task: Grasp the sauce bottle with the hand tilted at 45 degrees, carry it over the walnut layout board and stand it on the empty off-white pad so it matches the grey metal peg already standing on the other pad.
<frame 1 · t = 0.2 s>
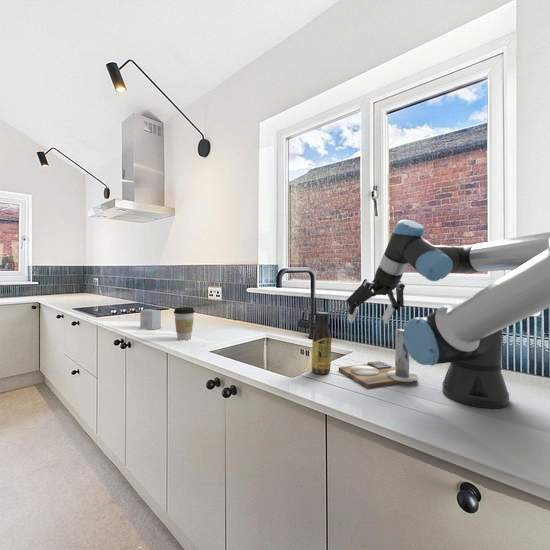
hand: (367, 320, 106), 17 cm above the worktop, tool tilted 35°, fingers open, 13 cm apart
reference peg: (402, 375, 95), resting on layout board
sauce bottle: (321, 372, 103), on the worktop
skincare box: (150, 328, 178), on the worktop
layout board: (376, 375, 99), on the worktop
coffee cup: (184, 339, 150), on the worktop
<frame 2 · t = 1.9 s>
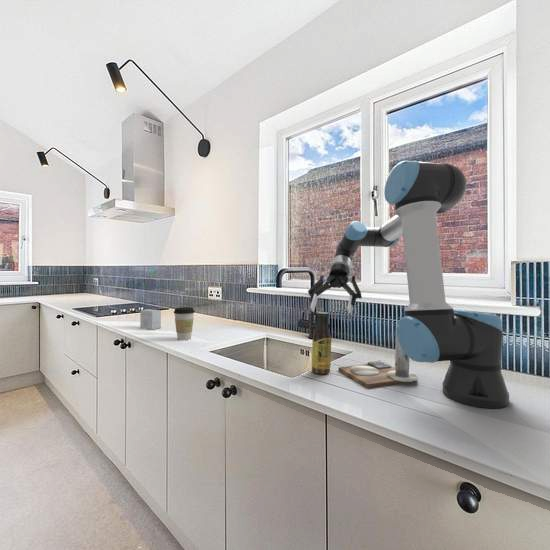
hand: (329, 310, 112), 19 cm above the worktop, tool tilted 45°, fingers open, 13 cm apart
nothing on the worktop moved.
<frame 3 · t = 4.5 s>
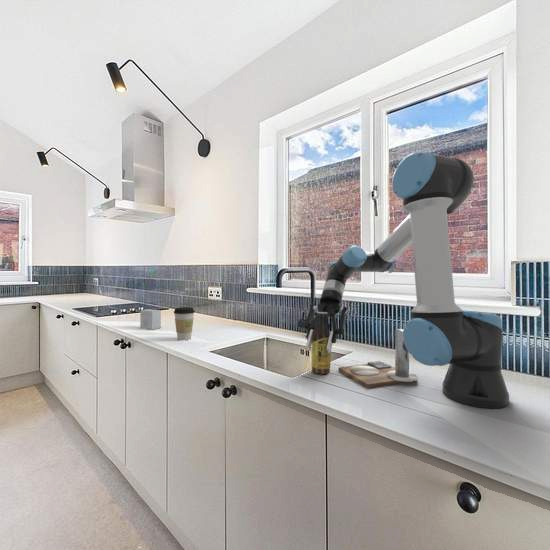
hand: (318, 349, 100), 8 cm above the worktop, tool tilted 45°, fingers closed on sauce bottle, 6 cm apart
sauce bottle: (321, 372, 103), on the worktop, touching gripper
everything else where it was.
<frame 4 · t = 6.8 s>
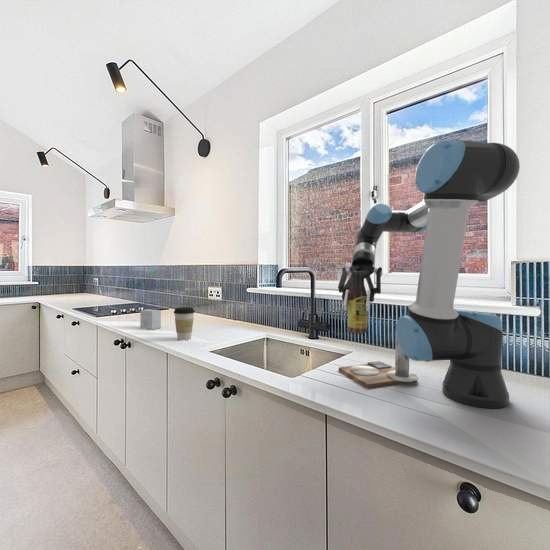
hand: (356, 307, 97), 22 cm above the worktop, tool tilted 45°, fingers closed on sauce bottle, 6 cm apart
sauce bottle: (357, 333, 100), point 14 cm above the worktop, touching gripper
everything else where it was.
when the fingers open (11 cm above the worktop, at t = 9.5 s): sauce bottle stays where it is, resting on layout board.
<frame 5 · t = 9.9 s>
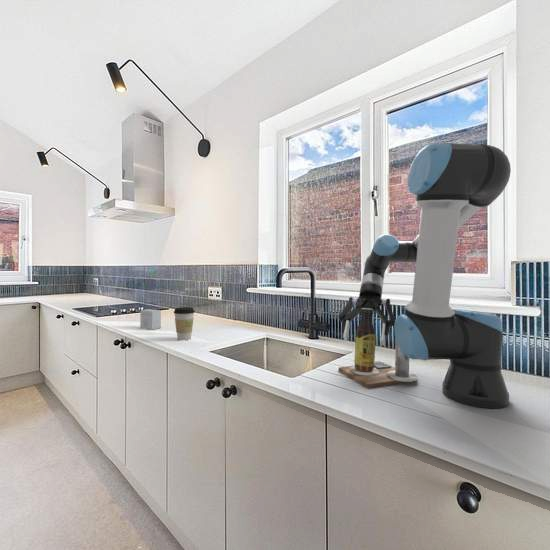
hand: (363, 340, 98), 12 cm above the worktop, tool tilted 45°, fingers open, 11 cm apart
sauce bottle: (364, 370, 100), point 1 cm above the worktop, touching layout board
everything else where it was.
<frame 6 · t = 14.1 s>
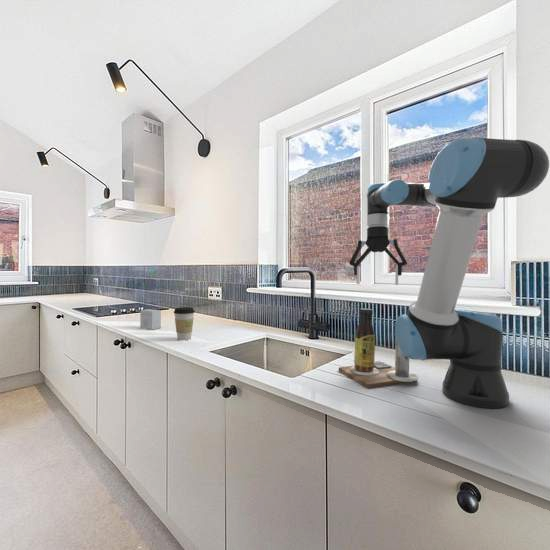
hand: (377, 284, 114), 29 cm above the worktop, tool pointing down, fingers open, 13 cm apart
nothing on the worktop moved.
at the end: sauce bottle inside the target area (0.1 cm from its centre), point 1.4 cm above the worktop; sauce bottle tilted 0°; the gripper is holding nothing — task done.
